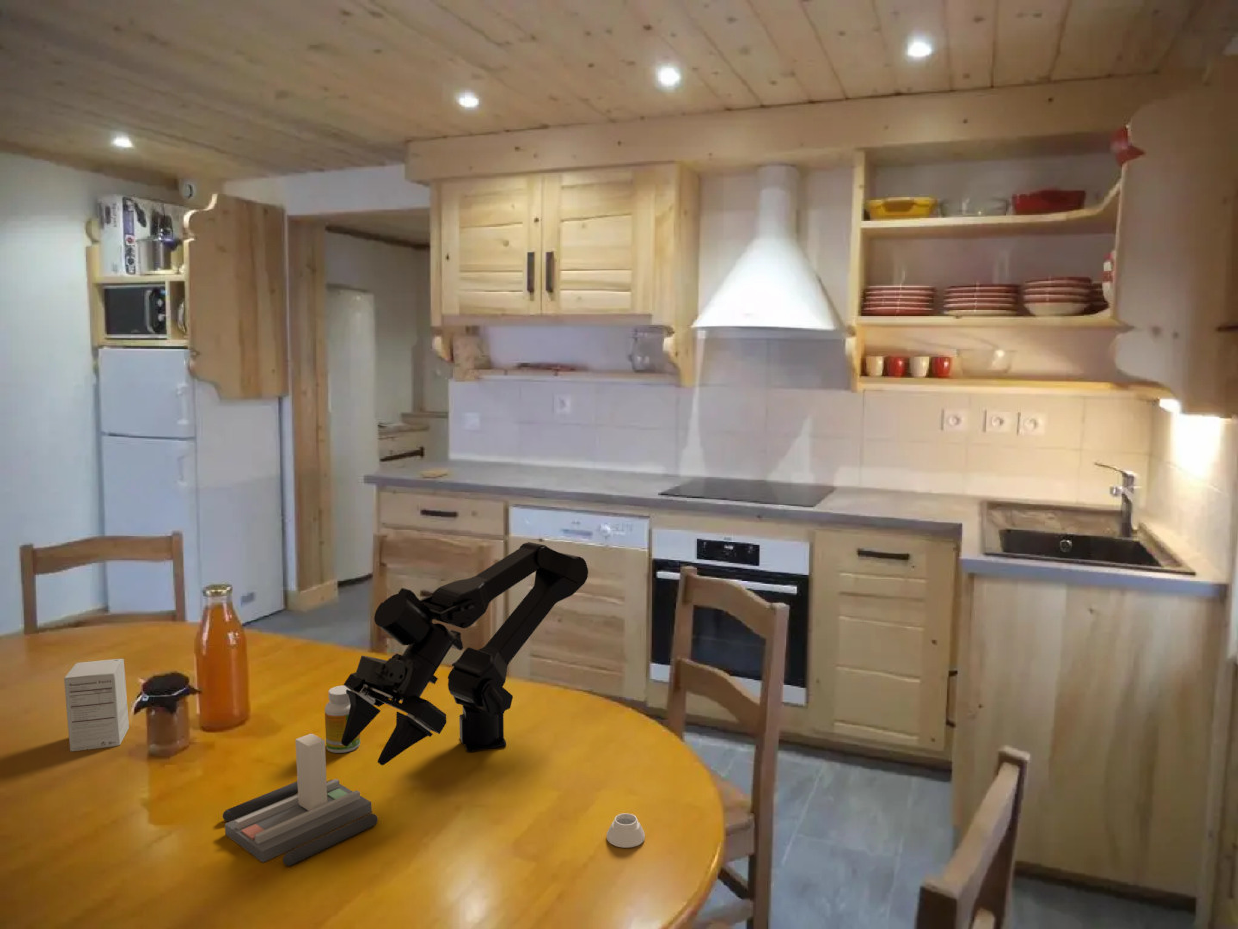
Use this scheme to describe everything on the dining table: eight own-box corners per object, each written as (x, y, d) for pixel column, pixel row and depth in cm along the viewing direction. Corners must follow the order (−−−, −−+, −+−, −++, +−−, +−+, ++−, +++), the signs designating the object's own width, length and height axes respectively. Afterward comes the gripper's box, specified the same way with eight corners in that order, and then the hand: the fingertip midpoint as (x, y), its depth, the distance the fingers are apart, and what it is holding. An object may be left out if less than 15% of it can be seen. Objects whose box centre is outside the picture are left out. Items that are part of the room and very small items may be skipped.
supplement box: (81, 733, 146) (75, 662, 144) (130, 728, 148) (125, 657, 146) (68, 752, 139) (62, 677, 137) (120, 746, 141) (114, 672, 139)
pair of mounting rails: (311, 784, 129) (310, 773, 129) (380, 825, 118) (380, 814, 118) (220, 821, 119) (220, 810, 118) (287, 870, 107) (286, 858, 107)
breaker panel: (332, 789, 127) (331, 773, 127) (371, 812, 121) (371, 795, 121) (225, 834, 115) (224, 816, 115) (262, 862, 109) (261, 844, 109)
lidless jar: (651, 838, 115) (623, 825, 118) (652, 818, 115) (623, 805, 118) (628, 855, 111) (599, 841, 114) (628, 833, 111) (599, 820, 114)
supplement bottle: (350, 755, 138) (348, 697, 137) (319, 752, 139) (317, 694, 138) (366, 741, 143) (364, 685, 142) (337, 738, 145) (334, 682, 143)
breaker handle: (314, 797, 121) (311, 733, 120) (327, 805, 119) (324, 740, 118) (298, 804, 120) (295, 739, 118) (311, 812, 117) (308, 746, 116)
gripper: (351, 621, 133) (288, 712, 126) (427, 647, 121) (362, 750, 114) (396, 656, 140) (339, 744, 133) (472, 684, 128) (413, 783, 121)
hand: (361, 754), depth 125 cm, fingers open, 9 cm apart
